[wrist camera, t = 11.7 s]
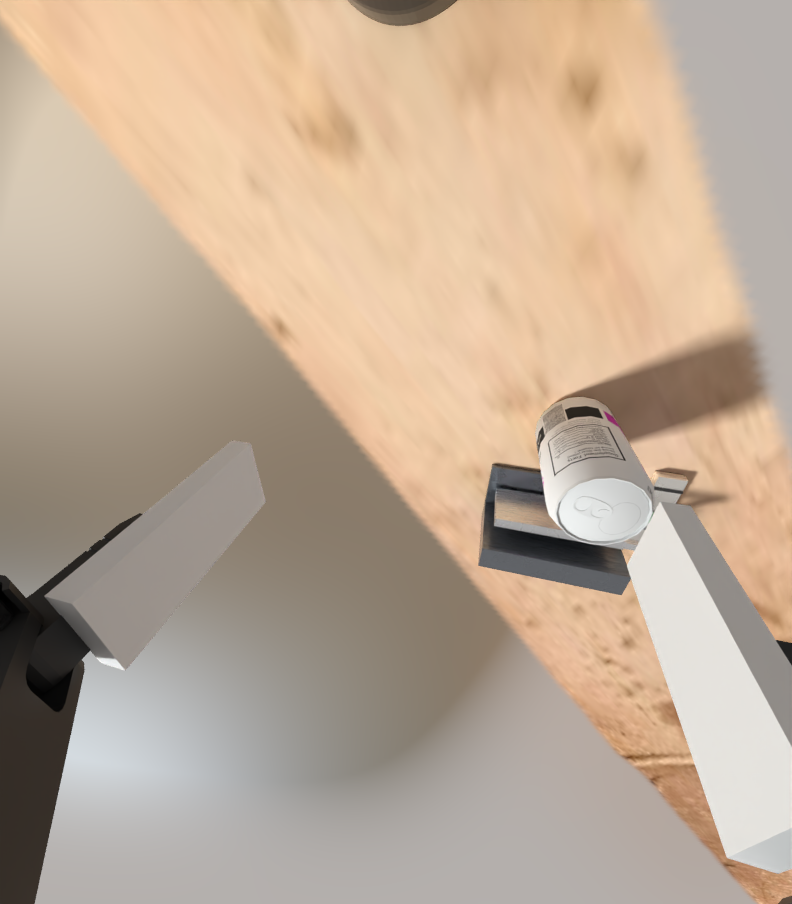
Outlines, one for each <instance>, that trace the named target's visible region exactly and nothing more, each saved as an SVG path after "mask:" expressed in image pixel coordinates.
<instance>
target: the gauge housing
mask: <svg viewBox="0 0 792 904" xmlns="http://www.w3.org/2000/svg"><path fill="white" fill-rule="evenodd" d="M650 481H651V482H652V484H653V486H654V492H655V503H654V505H653V508H652V512H653V514H654V512H655V510H656V508H657V506H658V504H659V502H667V503H674V504H676V502H677V500H678V499H679V497H680V495H681V494H683V490H684V488H685V486H686V485H687V483H688V480H687V478H686V477H685V475H681V474H674V473H667V472H660V471H655V472H654V474H653V476H652V478H651V480H650ZM496 488H502V489H508V490H514V491H520V492H526V493H532V494H538V495H544V488H543V482H542V475H541V472H539V471H533V470H526V469H520V468H513V467H507V466H500V465H494V464H492V469H491V474H490V479H489V484H488V489H487V494H486V499H485V504H484V509H483V514H482V523H481V537H480V550H479V564H478V566H483V567H488V568H492V569H497V570H502V571H507V572H512V573H517V574H521V575H526V576H531V577H536V578H541V579H546V580H551V581H555V582H560V583H565V584H570V585H575V586H580V587H585V588H589V589H594V590H599V591H604V592H609V593H614V594H618V595H622V593H623V591H624V590H625V588H626V586H627V584H628V583H629V581H630V579H631V577H630V574H629V571H628V568H627V565H626V562H625V559H624V556H623V553H622V551H621V549H616V548H611V547H606V546H600V545H595V544H589V543H584V542H578V541H573V540H568V539H562V538H557V537H551V536H546V535H540V534H535V533H530V532H524V531H519V530H513V529H508V528H502V527H497V526H494V510H495V492H496ZM653 514H652V516H653ZM652 516H651V518H652ZM651 518H650V520H651ZM650 520H649V522H650ZM648 524H649V523H648ZM647 526H648V525H647ZM647 526H646V527H645V528H644V529H643V530H642V531H641V532H640V533H639V534H637V535H636V536H633V537H631V538H629V539H632V540H637V541H640V539H641V537H642V535H643V533H644V532H645V530H646V528H647Z"/></svg>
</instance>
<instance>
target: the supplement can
mask: <svg viewBox="0 0 792 904" xmlns="http://www.w3.org/2000/svg"><path fill="white" fill-rule="evenodd" d="M535 436H536V442H537V449H538V455H539V462H540V469H541V475H542V482H543V488H544V495H545V502H546V506H547V510H548V513H549V515H550V517H551V518H552V519H553V520H554V522H555V523H556V524H557V525H558V526H559V527H560V528H561V529H562V530H563V531H564V532H565V533H566V534H567V535H569V536H570V537H572V538H574V539H576V540H577V541H581V542H585V543H589V544H598V545H609V544H613V543H618V542H623V541H625V540H627V539H629V538H631V537H633V536H636V535H637V534H639V533H640V532H641V531H642V530H643V529H644V528H645V527H646V526H647V525H648V523H649V520H650V518H651V516H652V514H653V512H652V508H653V505H654V503H655V492H654V486H653V484H652V482H651V481H650V479H649V477H648V475H647V474H646V472H645V470H644V468H643V467H642V465H641V463H640V461H639V460H638V458H637V456H636V454H635V453H634V451H633V449H632V447H631V446H630V444H629V442H628V440H627V438H626V437H625V435H624V433H623V431H622V430H621V428H620V426H619V424H618V423H617V421H616V419H615V417H614V416H613V414H612V413H611V411H610V410H609V408H608V407H607V406H606V405H604V404H602V403H601V402H599V401H598V400H595V399H591V398H586V397H574V398H567V399H564V400H562V401H559V402H557V403H554V404H553V405H552V406H550V407H549V408H548V409H547V410H546V411H544V412H543V414H542V415H541V417H540V419H539V420H538V422H537V426H536V431H535Z"/></svg>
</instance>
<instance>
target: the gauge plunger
mask: <svg viewBox="0 0 792 904" xmlns="http://www.w3.org/2000/svg"><path fill="white" fill-rule="evenodd" d="M494 526H497V527H502V528H508V529H513V530H519V531H524V532H530V533H535V534H540V535H546V536H551V537H557V538H562V539H568V540H573V541H577V540H576V539H574V538H572V537H570V536H569V535H567V534H566V533H565V532H564V531H563V530H562V529H561V528H560V527H559V526H558V525H557V524H556V523H555V522H554V520H553V519H552V518H551V517H550V515H549V513H548V510H547V506H546V502H545V495H538V494H532V493H526V492H520V491H514V490H508V489H502V488H496V492H495V510H494ZM578 542H581V541H578ZM584 543H585V542H584ZM638 543H639V541H637V540H632V539H627V540H625V541H623V542H618V543H613V544H609V545H600V546H606V547H611V548H616V549H622V550H623V548H624V549H629V550H635V549H636V547H637V545H638ZM595 545H598V544H595Z"/></svg>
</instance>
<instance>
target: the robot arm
mask: <svg viewBox="0 0 792 904" xmlns="http://www.w3.org/2000/svg"><path fill="white" fill-rule="evenodd" d="M348 1H349V2H350V3H351V4H352V5H353V6H354V7H355V8H356V9H357V10H359V11H360V12H361V13H363V14H364V15H366V16H367V17H369V18H371V19H373V20H375V21H377V22H380V23H383V24H388V25H395V26H406V25H413V24H417V23H420V22H423V21H426V20H428V19H430V18H432V17H434V16H436V15H438V14H439V13H441V12H442V11H444V10H445V9H447V8H448V7H449V6H450V5H452V4H453V3H454V2H455V1H456V0H348ZM264 503H265V497H264V493H263V489H262V485H261V482H260V478H259V474H258V470H257V466H256V462H255V459H254V454H253V451H252V447H251V444H250V443H245V442H238V441H231V442H230V443H228V444H227V445H226V446H225V447H223V448H222V449H221V450H220V451H219V452H217V453H216V454H215V455H214V456H213V457H211V458H210V459H209V460H208V461H207V462H205V463H204V464H203V465H202V466H201V467H199V468H198V469H197V470H196V471H194V472H193V473H192V474H191V475H190V476H188V477H187V478H186V479H185V480H184V481H182V482H181V483H180V484H179V485H178V486H176V487H175V488H174V489H173V490H172V491H170V492H169V493H168V494H167V495H166V496H164V497H163V498H162V499H161V500H160V501H158V502H157V503H156V504H155V505H153V506H152V507H151V508H150V509H149V510H147V511H146V512H145V513H144V514H138V515H136V516H134V517H132V518H130V519H128V520H126V521H124V522H122V523H120V524H119V525H118V526H116V527H115V528H114V529H113V530H111V531H110V532H109V533H108V534H106V535H105V536H104V537H103V539H102V540H99V541H98V542H97V543H95V544H94V545H93V546H92V547H90V548H89V551H88V552H87V551H85V552H84V553H83V554H82V555H80V556H79V557H78V558H77V559H75V560H74V561H73V562H72V563H71V564H69V565H68V566H67V567H65V568H64V569H63V570H62V571H60V572H59V573H58V574H57V575H55V576H54V577H53V578H52V579H50V580H49V581H48V582H47V583H45V584H44V585H43V586H42V587H40V588H39V589H38V590H37V591H36V592H34V593H33V594H31V595H30V596H29V597H27V598H25V597H24V595H23V594H22V593H21V592H20V591H19V590H18V589H17V588H16V587H15V585H14V584H13V583H12V582H11V581H10V580H9V579H8V578H7V577H6V576H3V575H0V904H34V903H35V899H36V894H37V889H38V885H39V880H40V875H41V870H42V866H43V861H44V856H45V852H46V847H47V843H48V838H49V833H50V829H51V824H52V819H53V814H54V810H55V805H56V800H57V796H58V791H59V787H60V782H61V777H62V773H63V768H64V763H65V759H66V754H67V749H68V744H69V740H70V735H71V731H72V726H73V721H74V716H75V712H76V707H77V703H78V698H79V693H80V689H81V684H82V679H83V675H84V662H83V661H82V659H83V657H84V656H85V655H86V654H87V653H88V652H89V651H91V652H92V653H93V654H94V655H95V657H96V658H97V659H98V660H99V661H100V662H101V663H103V664H106V665H109V666H112V667H115V668H119V669H122V670H126V669H127V668H128V667H129V666H130V664H131V663H132V662H133V661H134V660H135V658H136V657H137V656H138V655H139V654H140V652H141V651H142V650H143V649H144V648H145V646H146V645H147V644H148V643H149V641H150V640H151V639H152V638H153V637H154V636H155V634H156V633H157V632H158V631H159V630H160V628H161V627H162V626H163V625H164V623H165V622H166V621H167V620H168V619H169V617H170V616H171V615H172V614H173V613H174V611H175V610H176V609H177V608H178V607H179V605H180V604H181V603H182V602H183V601H184V599H185V598H186V597H187V596H188V595H189V593H190V592H191V591H192V590H193V589H194V587H195V586H196V585H197V584H198V583H199V581H200V580H201V579H202V578H203V577H204V575H205V574H206V573H207V572H208V571H209V569H210V568H211V567H212V566H213V564H214V563H215V562H216V561H217V560H218V559H219V557H220V556H221V555H222V554H223V552H224V551H225V550H226V549H227V548H228V546H229V545H230V544H231V543H232V542H233V541H234V539H235V538H236V537H237V536H238V535H239V533H240V532H241V531H242V530H243V529H244V527H245V526H246V525H247V524H248V523H249V521H250V520H251V519H252V518H253V517H254V515H255V514H256V513H257V512H258V511H259V509H260V508H261V507H262V506H263V505H264ZM627 568H628V571H629V574H630V577H631V580H632V583H633V586H634V589H635V591H636V594H637V597H638V600H639V603H640V606H641V609H642V612H643V615H644V618H645V621H646V623H647V626H648V629H649V632H650V635H651V638H652V641H653V644H654V647H655V650H656V653H657V655H658V658H659V661H660V664H661V667H662V670H663V673H664V676H665V679H666V682H667V685H668V687H669V690H670V693H671V696H672V699H673V702H674V705H675V708H676V711H677V714H678V717H679V719H680V722H681V725H682V728H683V731H684V734H685V737H686V740H687V743H688V746H689V749H690V751H691V754H692V757H693V760H694V763H695V766H696V769H697V772H698V775H699V778H700V781H701V783H702V786H703V789H704V792H705V795H706V798H707V801H708V804H709V807H710V810H711V813H712V815H713V818H714V821H715V824H716V827H717V830H718V833H719V836H720V839H721V842H722V845H723V847H724V850H725V853H726V856H727V858H729V859H732V860H735V861H739V862H742V863H745V864H748V865H752V866H755V867H758V868H761V869H764V870H768V871H771V872H774V873H777V874H779V873H781V872H784V871H787V870H790V869H792V643H788V642H783V641H778V640H775V638H774V637H773V635H772V634H771V632H770V631H769V629H768V627H767V626H766V624H765V623H764V621H763V619H762V618H761V616H760V615H759V613H758V612H757V610H756V608H755V607H754V605H753V604H752V602H751V601H750V599H749V597H748V596H747V594H746V593H745V591H744V589H743V588H742V586H741V585H740V583H739V582H738V580H737V578H736V577H735V575H734V574H733V572H732V571H731V569H730V567H729V566H728V564H727V563H726V561H725V559H724V558H723V556H722V555H721V553H720V552H719V550H718V548H717V547H716V545H715V544H714V542H713V540H712V539H711V537H710V536H709V534H708V533H707V531H706V529H705V528H704V526H703V525H702V523H701V522H700V520H699V518H698V517H697V515H696V514H695V512H694V510H693V509H692V507H691V506H689V505H682V504H674V503H667V502H659V504H658V506H657V508H656V510H655V512H654V514H653V516H652V518H651V520H650V522H649V524H648V526H647V528H646V530H645V532H644V533H643V535H642V537H641V539H640V541H639V543H638V545H637V547H636V549H635V551H634V553H633V555H632V557H631V559H630V561H629V563H628V565H627ZM778 904H792V896H790V897H786V898H783V899H782V900H781V901H780V902H779V903H778Z"/></svg>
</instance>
